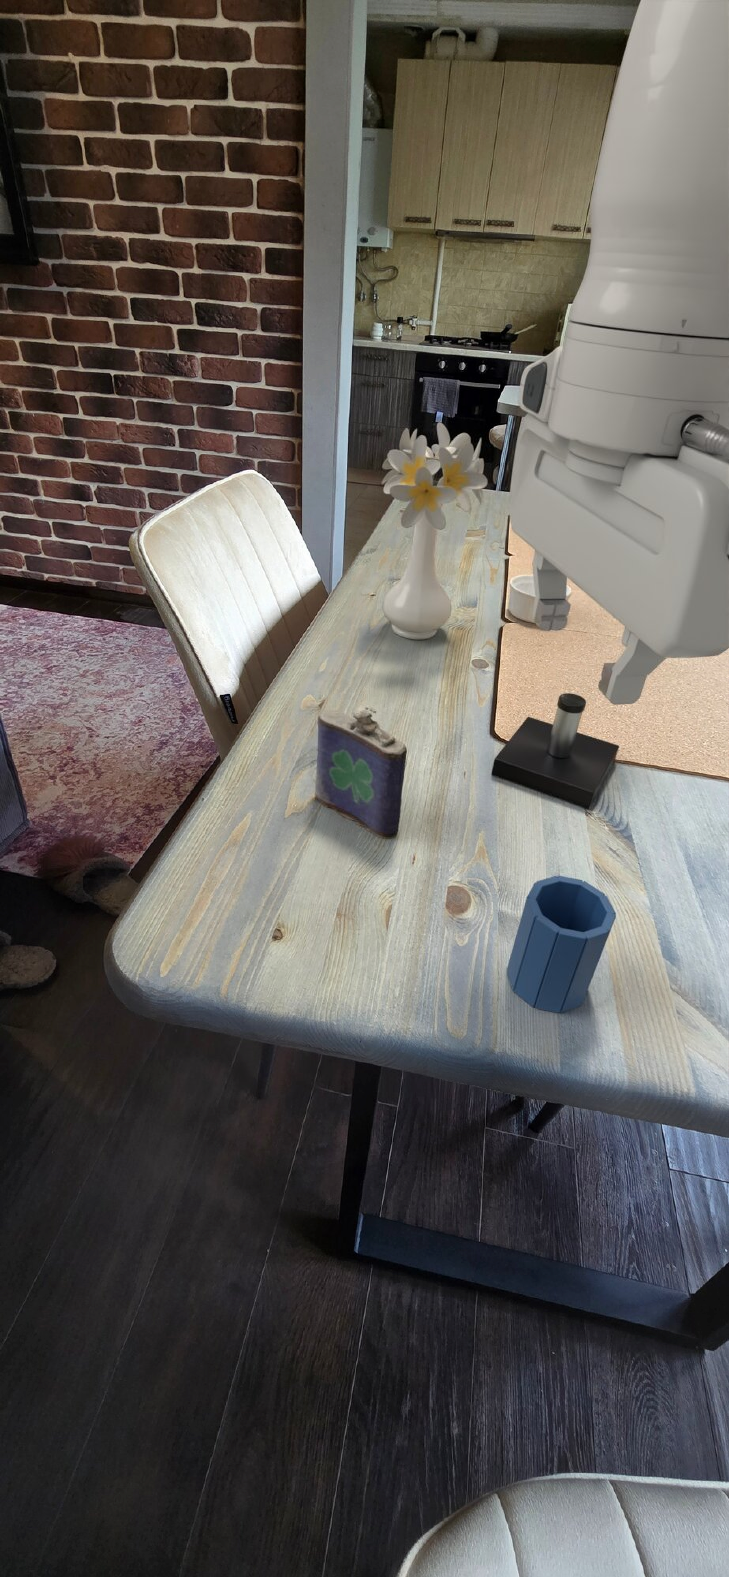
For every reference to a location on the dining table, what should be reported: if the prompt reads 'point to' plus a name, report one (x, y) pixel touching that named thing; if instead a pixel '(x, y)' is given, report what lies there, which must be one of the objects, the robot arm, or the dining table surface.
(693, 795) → the dining table surface
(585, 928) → the sleeve
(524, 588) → the ramekin
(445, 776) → the dining table surface
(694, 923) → the dining table surface
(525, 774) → the black base with post
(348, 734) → the flask
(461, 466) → the flower vase
